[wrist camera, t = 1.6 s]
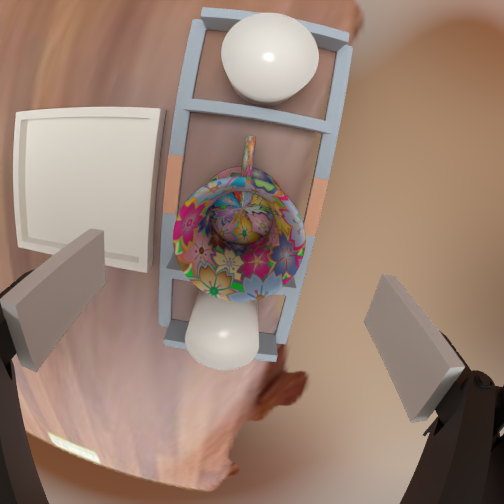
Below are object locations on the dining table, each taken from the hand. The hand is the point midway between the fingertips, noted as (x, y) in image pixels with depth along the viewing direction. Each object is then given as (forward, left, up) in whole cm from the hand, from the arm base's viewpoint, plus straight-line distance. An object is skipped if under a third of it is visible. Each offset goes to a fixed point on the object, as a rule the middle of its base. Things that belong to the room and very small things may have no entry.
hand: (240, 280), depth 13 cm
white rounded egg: (0, -12, -18) cm, 22 cm away
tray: (-19, -1, -18) cm, 26 cm away
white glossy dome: (0, +13, -18) cm, 22 cm away
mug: (0, 0, -18) cm, 18 cm away
